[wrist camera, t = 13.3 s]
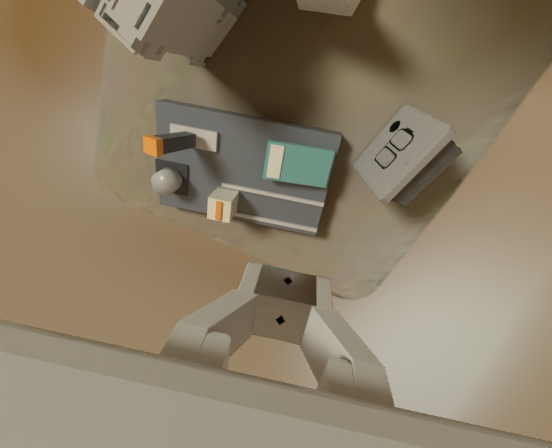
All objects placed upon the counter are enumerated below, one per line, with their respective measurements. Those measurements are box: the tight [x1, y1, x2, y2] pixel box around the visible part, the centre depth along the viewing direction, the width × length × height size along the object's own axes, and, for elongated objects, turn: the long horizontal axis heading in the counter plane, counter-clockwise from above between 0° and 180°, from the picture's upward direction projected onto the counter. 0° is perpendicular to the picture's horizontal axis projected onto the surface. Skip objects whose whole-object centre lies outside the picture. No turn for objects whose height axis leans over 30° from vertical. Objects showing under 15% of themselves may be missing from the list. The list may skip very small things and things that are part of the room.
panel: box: [155, 99, 342, 236], centre depth 37 cm, size 14×23×3 cm, turn 81°
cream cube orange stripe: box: [207, 187, 239, 223], centre depth 36 cm, size 3×3×4 cm
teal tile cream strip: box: [263, 139, 335, 188], centre depth 34 cm, size 8×5×1 cm, turn 81°
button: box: [151, 167, 183, 196], centre depth 37 cm, size 3×3×2 cm
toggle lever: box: [143, 131, 196, 157], centre depth 31 cm, size 2×2×6 cm
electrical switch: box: [353, 104, 462, 207], centre depth 31 cm, size 9×5×9 cm, turn 146°
